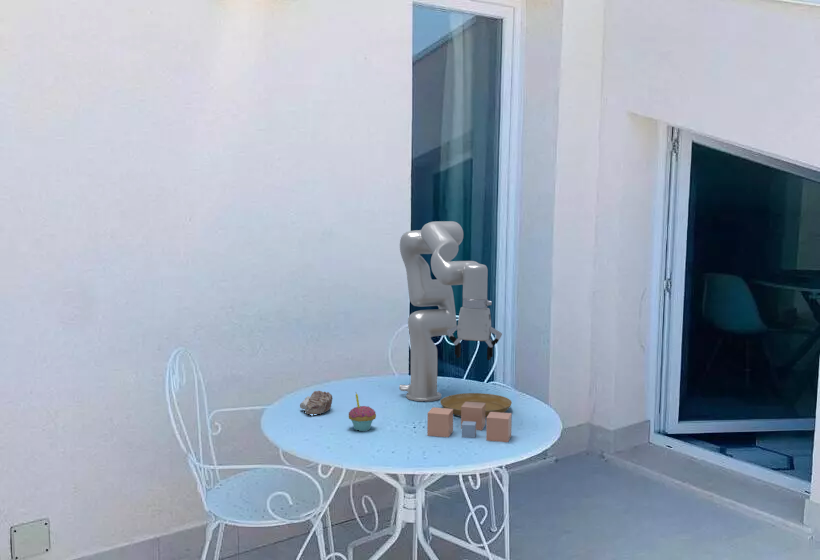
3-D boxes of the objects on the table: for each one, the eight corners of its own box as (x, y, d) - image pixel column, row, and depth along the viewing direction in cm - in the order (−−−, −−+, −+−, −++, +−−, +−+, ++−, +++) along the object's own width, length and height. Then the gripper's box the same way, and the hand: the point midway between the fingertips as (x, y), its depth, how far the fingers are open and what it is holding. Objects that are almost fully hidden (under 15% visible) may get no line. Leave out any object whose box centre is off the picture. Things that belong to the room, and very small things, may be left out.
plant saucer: (430, 404, 275) (430, 395, 275) (492, 399, 283) (493, 390, 282) (456, 423, 252) (456, 413, 252) (524, 416, 260) (524, 407, 260)
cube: (461, 437, 237) (461, 424, 237) (462, 433, 241) (463, 421, 241) (474, 438, 236) (475, 425, 236) (476, 434, 240) (476, 421, 240)
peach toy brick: (427, 435, 239) (427, 412, 238) (432, 429, 245) (432, 407, 244) (448, 437, 237) (448, 414, 236) (453, 431, 243) (453, 408, 243)
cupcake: (355, 434, 240) (354, 395, 239) (344, 427, 247) (343, 389, 246) (380, 430, 244) (380, 392, 243) (369, 423, 251) (368, 386, 250)
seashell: (302, 397, 273) (316, 374, 271) (326, 410, 274) (340, 388, 272) (294, 416, 260) (309, 392, 257) (319, 430, 260) (334, 406, 258)
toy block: (465, 423, 252) (465, 401, 251) (485, 424, 250) (485, 403, 250) (461, 428, 246) (461, 406, 245) (481, 430, 244) (481, 408, 243)
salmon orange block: (486, 440, 234) (486, 417, 233) (490, 434, 240) (490, 411, 240) (508, 442, 232) (508, 419, 232) (511, 435, 239) (511, 413, 238)
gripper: (504, 303, 245) (503, 357, 247) (450, 300, 250) (449, 353, 252) (500, 307, 238) (499, 362, 240) (444, 304, 243) (443, 358, 245)
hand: (473, 358), depth 246 cm, fingers open, 9 cm apart
